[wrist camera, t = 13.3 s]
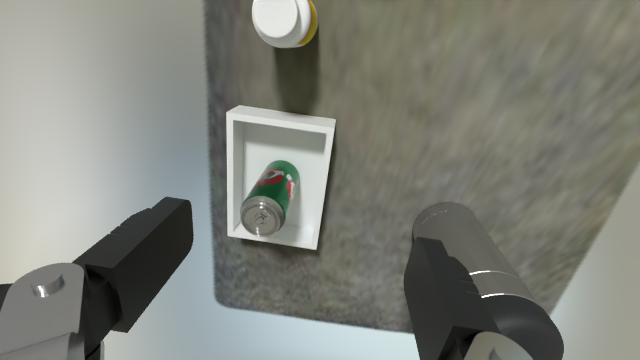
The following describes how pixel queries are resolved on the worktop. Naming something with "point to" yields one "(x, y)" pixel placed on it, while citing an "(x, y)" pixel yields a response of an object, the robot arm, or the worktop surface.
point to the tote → (271, 145)
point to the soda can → (270, 199)
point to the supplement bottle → (285, 22)
